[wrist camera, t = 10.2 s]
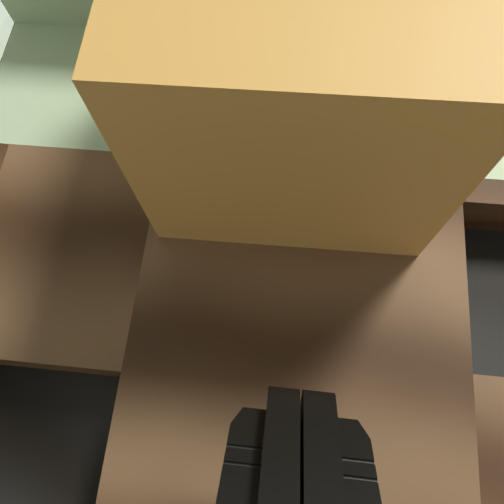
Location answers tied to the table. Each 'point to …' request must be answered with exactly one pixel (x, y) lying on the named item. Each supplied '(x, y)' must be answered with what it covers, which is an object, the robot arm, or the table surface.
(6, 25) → the table surface
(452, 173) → the ochre block
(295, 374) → the board
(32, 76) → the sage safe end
